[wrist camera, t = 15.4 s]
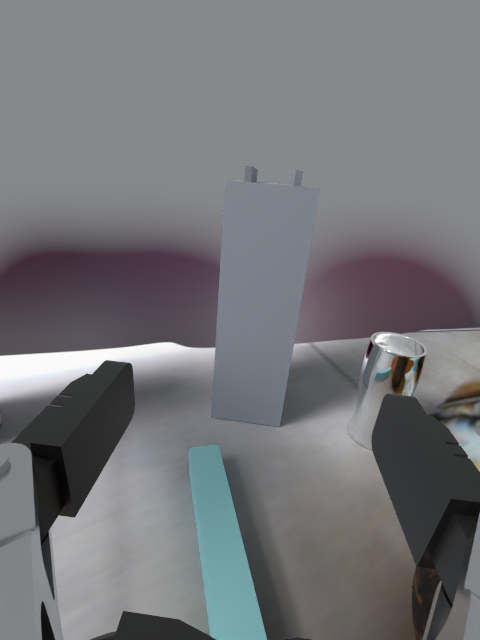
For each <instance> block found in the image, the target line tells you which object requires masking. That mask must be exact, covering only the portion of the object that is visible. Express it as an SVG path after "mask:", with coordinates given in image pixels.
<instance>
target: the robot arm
mask: <svg viewBox="0 0 480 640" xmlns="http://www.w3.org/2000/svg"><path fill="white" fill-rule="evenodd" d="M134 407H135V397H134V382H133V368H132V365H131V364H130V363H125V362H117V361H108V360H107V361H104V362H103V363H102V364H101V366H100V367H99V368H98V369H97V370H96V371H95V372H94V373H93V374H92V375H91V374H86V375H84V376H82V377H80V378H78V379H77V380H75V381H73V382H71V383H70V384H69V385H68V386H67V387H66V388H65V389H64V390H63V391H62V392H61V393H60V395H59V396H57V397H56V398H55V399H54V400H53V401H52V402H51V403H50V406H47V407H46V408H45V409H44V410H43V411H42V412H41V413H40V414H39V415H38V416H37V417H36V418H35V419H34V420H33V421H32V422H31V423H30V424H29V425H28V426H27V427H26V428H25V429H24V430H23V431H22V432H21V433H20V434H19V435H18V436H17V438H16V439H15V440H14V441H13V442H12V443H4V444H0V640H63V634H62V628H61V623H60V617H59V609H58V600H57V590H56V579H55V569H54V559H53V548H52V538H51V531H50V528H51V526H52V525H53V523H54V521H55V520H56V518H57V517H58V515H61V516H68V517H75V516H76V515H77V513H78V511H79V509H80V508H81V506H82V504H83V503H84V501H85V499H86V497H87V496H88V494H89V492H90V490H91V489H92V487H93V485H94V484H95V482H96V480H97V478H98V477H99V475H100V473H101V472H102V470H103V468H104V466H105V465H106V463H107V461H108V459H109V458H110V456H111V454H112V453H113V451H114V449H115V447H116V446H117V444H118V442H119V440H120V439H121V437H122V435H123V434H124V432H125V430H126V428H127V427H128V425H129V423H130V421H131V419H132V416H133V413H134ZM1 422H2V416H1V413H0V425H1ZM371 442H372V450H373V454H374V456H375V459H376V462H377V464H378V467H379V469H380V472H381V475H382V477H383V480H384V483H385V485H386V488H387V490H388V493H389V496H390V498H391V501H392V503H393V506H394V509H395V511H396V514H397V516H398V519H399V522H400V524H401V527H402V530H403V532H404V535H405V537H406V540H407V543H408V545H409V548H410V550H411V553H412V556H413V558H414V561H415V563H416V566H417V567H422V568H430V569H436V570H437V572H438V575H439V577H440V579H441V581H440V583H439V584H438V587H437V589H436V592H435V596H434V599H433V603H432V607H431V610H430V614H429V617H428V621H427V624H426V628H425V631H424V635H423V639H422V640H480V472H479V471H478V469H477V468H476V467H475V465H474V464H473V462H472V461H471V460H470V459H468V457H467V456H468V455H467V454H466V453H465V451H464V450H463V449H462V447H461V446H459V445H458V444H459V443H458V442H457V440H456V439H455V438H454V436H453V435H452V433H451V432H450V431H449V429H448V428H447V427H445V426H444V425H443V424H442V423H441V422H439V421H438V420H437V419H436V418H435V417H433V416H432V415H427V414H426V412H425V411H424V410H423V408H422V407H421V405H420V404H419V402H418V401H417V399H416V398H415V397H413V396H405V395H397V394H386V395H385V396H384V398H383V400H382V403H381V407H380V410H379V413H378V416H377V419H376V422H375V425H374V428H373V432H372V440H371ZM91 640H216V639H215V638H213V637H211V636H209V635H207V634H205V633H203V632H201V631H199V630H198V629H196V628H194V627H192V626H190V625H188V624H186V623H184V622H183V621H181V620H179V619H172V618H165V617H159V616H152V615H146V614H139V613H132V612H126V611H123V613H122V616H121V619H120V622H119V625H118V628H117V631H116V632H111V633H107V634H104V635H101V636H98V637H95V638H93V639H91ZM287 640H310V639H304V638H292V639H287Z"/></svg>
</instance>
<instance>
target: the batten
mask: <svg viewBox="0 0 480 640" xmlns="http://www.w3.org/2000/svg"><path fill="white" fill-rule="evenodd" d="M188 467H189V475H190V483H191V491H192V498H193V506H194V514H195V522H196V529H197V537H198V545H199V553H200V560H201V568H202V576H203V583H204V591H205V599H206V607H207V614H208V622H209V630H210V636H211V637H213V638H215V639H216V640H267V637H266V633H265V629H264V625H263V621H262V617H261V613H260V609H259V605H258V601H257V597H256V593H255V589H254V585H253V581H252V577H251V573H250V569H249V565H248V561H247V557H246V553H245V549H244V545H243V541H242V537H241V533H240V529H239V525H238V521H237V517H236V513H235V509H234V505H233V501H232V497H231V493H230V488H229V484H228V480H227V476H226V472H225V468H224V464H223V460H222V456H221V452H220V448H219V444H213V445H206V446H198V447H190V448H189V466H188Z"/></svg>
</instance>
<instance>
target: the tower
mask: <svg viewBox="0 0 480 640" xmlns="http://www.w3.org/2000/svg"><path fill="white" fill-rule="evenodd" d="M302 172H303V171H298V170H296V171H294V172H293V173H292V174H291V182H290V185H283V184H271V183H260V182H256V181H257V169H255V168H254V167H252V166H246V168H245V181H238V180H225V193H224V211H223V227H222V245H221V247H222V248H221V264H220V281H219V297H218V315H217V333H216V350H215V367H214V385H213V402H212V418H218V419H226V420H233V421H240V422H247V423H255V424H262V425H269V426H277V427H280V423H281V417H282V411H283V405H284V399H285V393H286V387H287V381H288V375H289V370H290V364H291V358H292V352H293V346H294V340H295V334H296V328H297V323H298V317H299V310H300V305H301V299H302V292H303V287H304V281H305V275H306V270H307V264H308V257H309V252H310V246H311V240H312V233H313V227H314V222H315V216H316V211H317V205H318V199H319V193H320V188H314V187H305V186H301V180H302Z"/></svg>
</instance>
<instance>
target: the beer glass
mask: <svg viewBox="0 0 480 640" xmlns="http://www.w3.org/2000/svg"><path fill="white" fill-rule="evenodd" d="M426 354H427V349H426V347H425V346H424V345H423V344H421V343H420V342H418V341H416V340H415V339H412V338H410V337H407V336H404V335H401V334H397V333H391V332H378V333H375V334H373V335H372V336H371V340H370V342H369V345H368V347H367V350H366V353H365V356H364V359H363V362H362V366H361V370H360V376H359V386H358V401H357V407H356V410H355V413H354V415H353V417H352V419H351V420H350V422H349V425H348V432H349V434H350V436H351V437H352V438H353V439H354V440H355V441H356V442H357V443H359V444H360V445H362V446H364V447H366V448H369V449H372V442H371V440H372V432H373V428H374V425H375V422H376V419H377V416H378V413H379V410H380V407H381V403H382V400H383V398H384V396H385V395H386V394H397V395H405V396H412V395H413V393H414V391H415V389H416V387H417V384H418V382H419V379H420V376H421V373H422V369H423V365H424V361H425V357H426Z"/></svg>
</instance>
